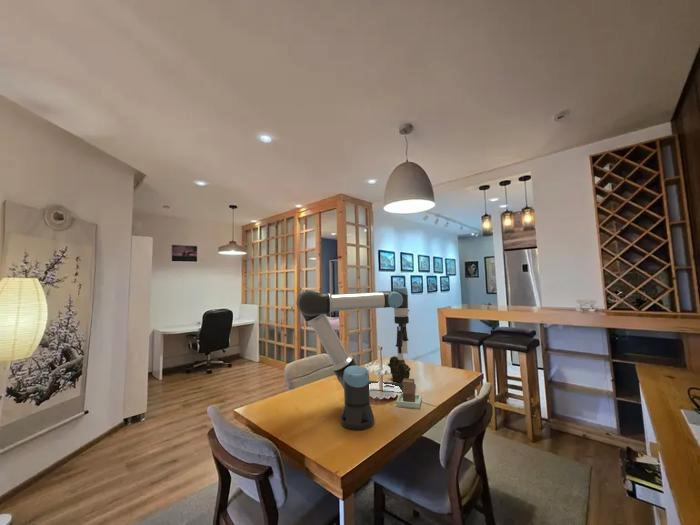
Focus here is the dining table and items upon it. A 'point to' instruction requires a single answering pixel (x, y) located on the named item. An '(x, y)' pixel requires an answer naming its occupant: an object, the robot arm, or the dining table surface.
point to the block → (408, 390)
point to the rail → (390, 383)
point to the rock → (399, 369)
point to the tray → (409, 404)
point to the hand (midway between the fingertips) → (402, 356)
